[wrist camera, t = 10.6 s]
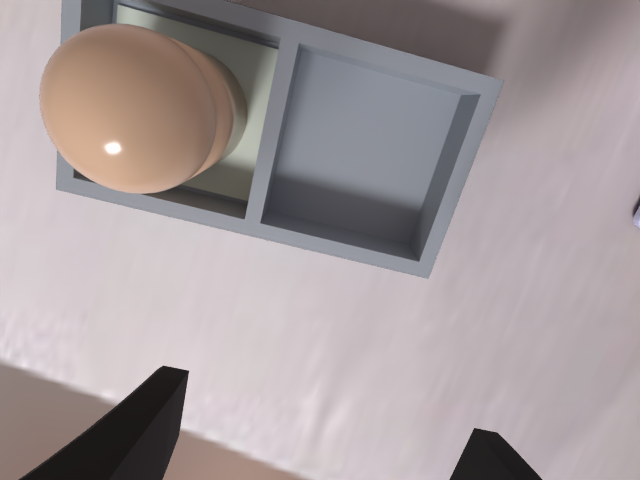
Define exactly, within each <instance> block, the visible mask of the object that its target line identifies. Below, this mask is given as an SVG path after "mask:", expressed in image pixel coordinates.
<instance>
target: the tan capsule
mask: <svg viewBox="0 0 640 480" xmlns="http://www.w3.org/2000/svg"><path fill="white" fill-rule="evenodd" d="M39 99H40V110H41V116H42V119H43V123H44V126H45V128H46V131H47V133H48V135H49V137H50V139H51V141H52V142H53V144H54V146H55V147H56V149H57V150H58V152H59V153H60V154H61V156H62V157H63V158H64V159H65V160H66V161H67V162H68V163H69V164H70V165H71V166H72V167H73V168H74V169H75V170H77V171H78V172H79V173H81V174H82V175H84V176H85V177H87V178H88V179H90V180H92V181H94V182H96V183H97V184H100V185H102V186H104V187H107V188H110V189H113V190H117V191H121V192H126V193H135V194H146V193H156V192H161V191H165V190H168V189H170V188H173V187H176V186H178V185H180V184H182V183H184V182H185V181H187V180H189V179H191V178H192V177H194V176H196V175H197V174H199V173H201V172H203V171H204V170H206V169H208V168H209V167H211V166H213V165H214V164H216V163H218V162H220V161H221V160H223V159H225V158H226V157H227V156H229V155H230V154H231V153H232V152H233V151H234V150H235V148H236V147H237V146H238V144H239V143H240V141H241V139H242V137H243V134H244V132H245V128H246V123H247V106H246V100H245V96H244V93H243V90H242V88H241V86H240V84H239V82H238V80H237V78H236V77H235V76H234V74H233V73H232V72H231V71H230V70H229V68H228V67H227V66H226V65H224V64H223V63H222V62H221V61H220V60H218V59H217V58H215V57H214V56H212V55H209V54H207V53H205V52H203V51H201V50H198V49H196V48H194V47H191V46H189V45H187V44H184V43H182V42H180V41H177V40H175V39H173V38H170V37H168V36H166V35H163V34H161V33H159V32H156V31H154V30H151V29H148V28H145V27H141V26H136V25H131V24H120V23H114V24H103V25H97V26H94V27H90V28H87V29H85V30H83V31H81V32H78V33H76V34H75V35H73V36H71V37H70V38H68V39H67V40H66V41H65V42H64V43H63V44H61V45H60V46H59V47H58V49H57V50H56V51H55V52H54V54H53V55H52V56H51V58H50V59H49V61H48V63H47V65H46V67H45V69H44V72H43V75H42V79H41V84H40V94H39Z"/></svg>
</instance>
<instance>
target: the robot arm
mask: <svg viewBox="0 0 640 480" xmlns="http://www.w3.org/2000/svg"><path fill="white" fill-rule="evenodd" d="M633 220H634V224H635V226H637V227H639V228H640V206H639V208H638V210H637V212H636V213H635V216H634V219H633ZM188 374H189V371H187V370H182V369H177V368H172V367H167V366H162V367H160V368H159V369H157V370H156V371H155V372H154V373H153V374H152V375H151V376H150V377H149V378H148V379H147V380H145V381H144V382H143V383H142V384H141V385H140V386H139V387H138V388H137V389H135V390H134V391H133V392H132V393H131V394H130V395H129V396H127V397H126V398H125V399H124V400H123V401H122V402H120V403H119V404H118V405H117V406H116V407H114V408H113V409H112V410H111V411H110V412H108V413H107V414H106V415H105V416H103V417H102V418H101V419H100V420H98V421H97V422H96V423H95V424H94V425H92V426H91V427H90V428H89V429H87V430H86V431H85V432H83V433H82V434H81V435H80V436H78V437H77V438H76V439H74V440H73V441H72V442H70V443H69V444H68V445H66V446H65V447H63V448H62V449H61V450H59V451H58V452H57V453H55V454H54V455H53V456H51V457H50V458H49V459H47V460H46V461H45V462H43V463H42V464H40V465H39V466H38V467H36V468H35V469H33V470H32V471H30V472H29V473H28V474H26V475H25V476H23V477H22V478H20V479H19V480H162V479H163V477H164V474H165V471H166V469H167V466H168V464H169V461H170V458H171V456H172V453H173V450H174V447H175V445H176V442H177V439H178V436H179V431H180V425H181V419H182V412H183V406H184V399H185V393H186V387H187V380H188ZM450 480H542V479H541V478H540V477H539V475H538V474H537V473H536V472H535V471H534V470H533V469H532V468H531V467H530V466H529V465H528V464H527V463H526V462H525V460H524V459H523V458H522V457H521V456H520V455H519V454H518V453H517V452H516V451H515V450H514V449H513V448H512V447H511V446H510V445H509V444H508V443H507V442H506V441H505V440H504V439H503V438H502V437H501V436H500V435H499V434H498V433H496V432H491V431H486V430H481V429H476V428H474V430H473V432H472V434H471V436H470V438H469V440H468V442H467V445H466V447H465V449H464V451H463V453H462V455H461V457H460V459H459V461H458V463H457V465H456V467H455V470H454V472H453V474H452V476H451V478H450Z"/></svg>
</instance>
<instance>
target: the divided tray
mask: <svg viewBox="0 0 640 480" xmlns="http://www.w3.org/2000/svg"><path fill="white" fill-rule="evenodd" d="M114 23H120V24H131V25H136V26H141V27H145V28H148V29H151V30H154V31H156V32H159V33H161V34H163V35H166V36H168V37H170V38H173V39H175V40H177V41H180V42H182V43H184V44H187V45H189V46H191V47H194V48H196V49H198V50H201V51H203V52H205V53H207V54H209V55H212V56H214V57H215V58H217V59H218V60H220V61H221V62H222V63H223V64H224V65H226V66H227V67H228V68H229V70H230V71H231V72H232V73H233V74H234V76H235V77H236V78H237V80H238V82H239V84H240V86H241V88H242V90H243V93H244V96H245V100H246V106H247V123H246V128H245V132H244V134H243V137H242V139H241V141H240V143H239V144H238V146H237V147H236V148H235V150H234V151H233V152H232V153H231V154H230V155H229V156H227V157H226V158H225V159H223V160H221V161H220V162H218V163H216V164H214V165H213V166H211V167H209V168H208V169H206V170H204V171H203V172H201V173H199V174H197V175H196V176H194V177H192V178H191V179H189V180H187V181H185V182H184V183H182V184H180V185H178V186H176V187H173V188H170V189H168V190H165V191H161V192H156V193H146V194H135V193H126V192H121V191H117V190H113V189H110V188H107V187H104V186H102V185H100V184H97V183H96V182H94V181H92V180H90V179H88V178H87V177H85V176H84V175H82V174H81V173H79V172H78V171H77V170H75V169H74V168H73V167H72V166H71V165H70V164H69V163H68V162H67V161H66V160H65V159H64V158H63V157H62V156H61V154H60V153H59V152H58V150H57V173H56V190H60V191H64V192H68V193H73V194H77V195H81V196H85V197H89V198H93V199H98V200H102V201H106V202H110V203H114V204H119V205H123V206H127V207H131V208H135V209H139V210H144V211H148V212H152V213H156V214H160V215H164V216H169V217H173V218H177V219H181V220H185V221H189V222H194V223H198V224H202V225H206V226H210V227H215V228H219V229H223V230H227V231H231V232H235V233H240V234H244V235H248V236H252V237H256V238H260V239H265V240H269V241H273V242H277V243H281V244H285V245H290V246H294V247H298V248H302V249H306V250H311V251H315V252H319V253H323V254H327V255H331V256H336V257H340V258H344V259H348V260H352V261H356V262H361V263H365V264H369V265H373V266H377V267H381V268H386V269H390V270H394V271H398V272H402V273H407V274H411V275H415V276H419V277H423V278H427V279H429V276H430V273H431V271H432V268H433V266H434V263H435V260H436V258H437V255H438V253H439V250H440V247H441V245H442V242H443V240H444V237H445V234H446V232H447V229H448V226H449V224H450V221H451V219H452V216H453V213H454V211H455V208H456V206H457V203H458V200H459V198H460V195H461V193H462V190H463V187H464V185H465V182H466V179H467V177H468V174H469V172H470V169H471V166H472V164H473V161H474V159H475V156H476V153H477V151H478V148H479V146H480V143H481V140H482V138H483V135H484V132H485V130H486V127H487V125H488V122H489V119H490V117H491V114H492V112H493V109H494V106H495V104H496V101H497V99H498V96H499V93H500V91H501V88H502V85H503V83H504V80H500V79H497V78H493V77H490V76H486V75H483V74H480V73H476V72H473V71H469V70H466V69H462V68H459V67H455V66H452V65H448V64H445V63H441V62H438V61H434V60H431V59H427V58H424V57H420V56H417V55H413V54H410V53H406V52H403V51H399V50H396V49H392V48H389V47H386V46H382V45H379V44H375V43H372V42H368V41H365V40H361V39H358V38H354V37H351V36H347V35H344V34H340V33H337V32H333V31H330V30H326V29H323V28H319V27H316V26H312V25H309V24H305V23H302V22H298V21H295V20H291V19H288V18H285V17H281V16H278V15H274V14H271V13H267V12H264V11H260V10H257V9H253V8H250V7H246V6H243V5H239V4H236V3H232V2H229V1H225V0H62V13H61V44H63V43H64V42H65V41H66V40H67V39H68V38H70V37H71V36H73V35H75V34H76V33H78V32H81V31H83V30H85V29H87V28H90V27H94V26H97V25H103V24H114Z"/></svg>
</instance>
